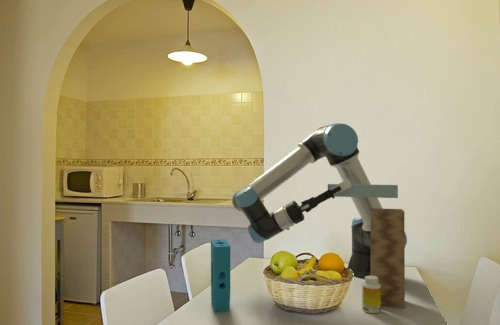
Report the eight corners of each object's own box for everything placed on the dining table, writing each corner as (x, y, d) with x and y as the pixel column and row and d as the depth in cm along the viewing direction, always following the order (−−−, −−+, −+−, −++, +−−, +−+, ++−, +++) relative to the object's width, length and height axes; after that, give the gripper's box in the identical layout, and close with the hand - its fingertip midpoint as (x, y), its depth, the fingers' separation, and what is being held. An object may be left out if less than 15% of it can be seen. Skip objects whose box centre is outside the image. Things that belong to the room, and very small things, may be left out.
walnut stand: (371, 305, 127) (370, 210, 127) (370, 297, 135) (370, 208, 135) (404, 308, 124) (404, 211, 125) (402, 299, 132) (402, 209, 132)
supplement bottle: (383, 314, 120) (383, 279, 120) (364, 314, 120) (364, 279, 120) (377, 307, 125) (377, 274, 125) (360, 307, 125) (359, 274, 125)
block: (230, 312, 120) (230, 246, 121) (214, 314, 120) (214, 247, 120) (225, 299, 132) (225, 239, 132) (210, 300, 131) (210, 239, 131)
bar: (327, 196, 133) (327, 184, 133) (328, 195, 137) (328, 183, 137) (397, 198, 127) (397, 185, 127) (396, 197, 131) (396, 185, 131)
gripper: (298, 221, 146) (356, 190, 141) (290, 228, 130) (355, 194, 124) (288, 203, 147) (345, 172, 142) (279, 208, 131) (343, 173, 125)
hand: (349, 182), depth 133 cm, fingers closed on bar, 4 cm apart
